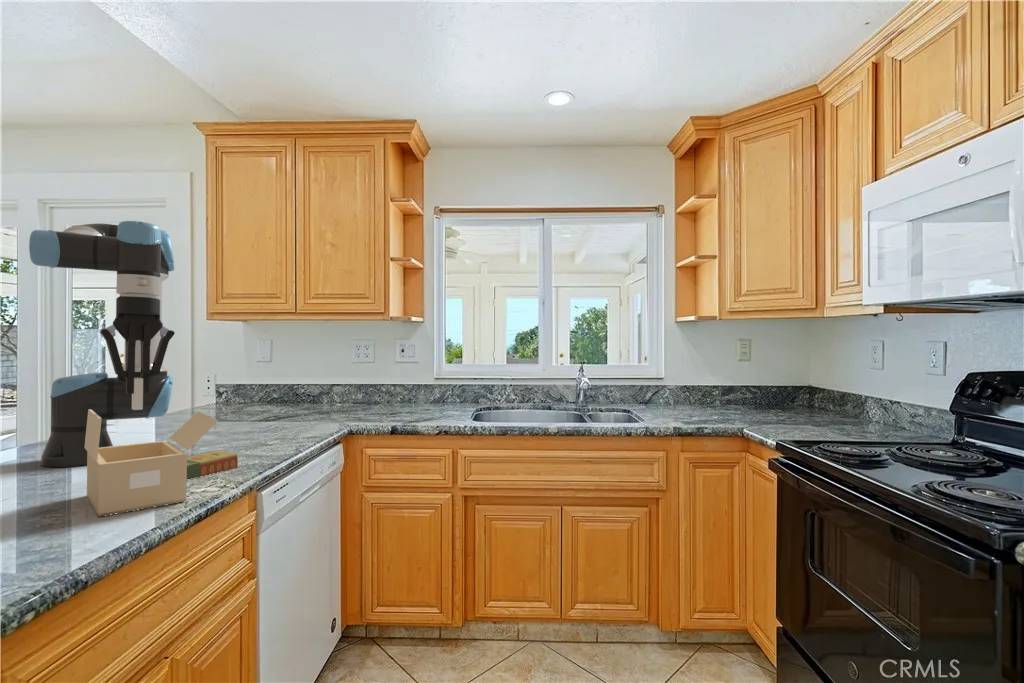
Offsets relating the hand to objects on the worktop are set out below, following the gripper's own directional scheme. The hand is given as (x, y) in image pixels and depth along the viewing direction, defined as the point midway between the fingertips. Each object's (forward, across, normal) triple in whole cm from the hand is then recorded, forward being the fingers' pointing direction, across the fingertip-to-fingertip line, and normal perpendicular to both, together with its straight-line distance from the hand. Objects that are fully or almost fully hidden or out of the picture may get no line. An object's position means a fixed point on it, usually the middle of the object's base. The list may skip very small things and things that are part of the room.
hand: (137, 409), depth 110 cm
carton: (+19, +15, +15) cm, 29 cm away
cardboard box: (+19, 0, 0) cm, 19 cm away
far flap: (+5, +10, 0) cm, 12 cm away
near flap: (+4, -7, 0) cm, 8 cm away
